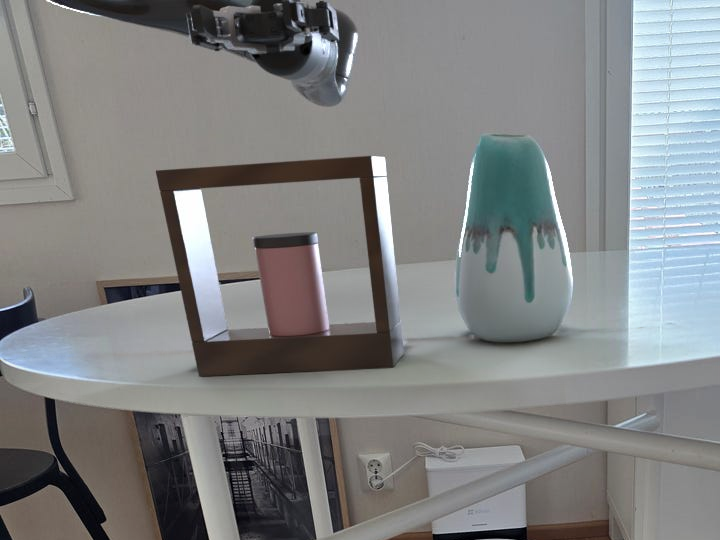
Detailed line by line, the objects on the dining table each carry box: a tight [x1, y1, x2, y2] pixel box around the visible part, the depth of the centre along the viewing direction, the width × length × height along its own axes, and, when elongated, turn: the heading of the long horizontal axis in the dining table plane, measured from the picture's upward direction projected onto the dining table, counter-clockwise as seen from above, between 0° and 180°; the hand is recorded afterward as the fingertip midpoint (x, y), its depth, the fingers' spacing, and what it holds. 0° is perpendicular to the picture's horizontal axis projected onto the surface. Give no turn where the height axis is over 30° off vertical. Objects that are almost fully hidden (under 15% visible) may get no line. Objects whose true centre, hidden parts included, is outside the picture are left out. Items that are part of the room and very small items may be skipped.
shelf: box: [155, 155, 405, 377], centre depth 76 cm, size 18×6×16 cm, turn 86°
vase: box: [453, 132, 574, 343], centre depth 82 cm, size 12×12×18 cm
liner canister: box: [252, 231, 330, 336], centre depth 76 cm, size 6×6×8 cm
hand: (242, 15), depth 79 cm, fingers open, 8 cm apart
